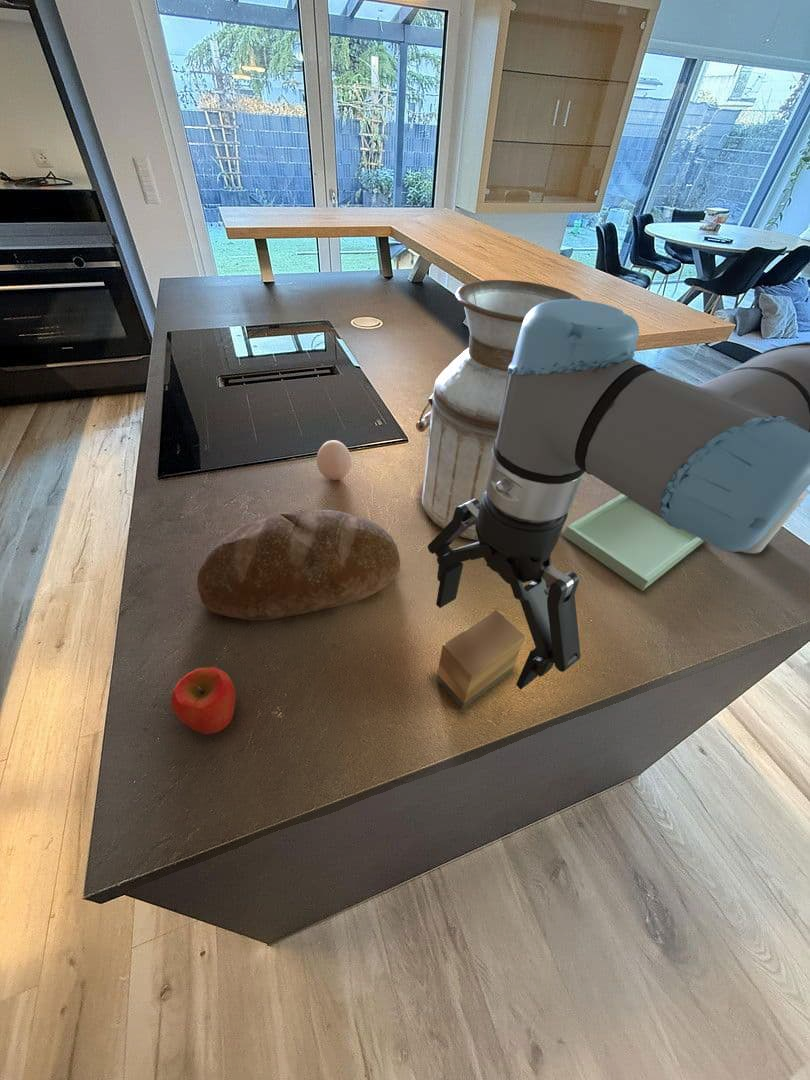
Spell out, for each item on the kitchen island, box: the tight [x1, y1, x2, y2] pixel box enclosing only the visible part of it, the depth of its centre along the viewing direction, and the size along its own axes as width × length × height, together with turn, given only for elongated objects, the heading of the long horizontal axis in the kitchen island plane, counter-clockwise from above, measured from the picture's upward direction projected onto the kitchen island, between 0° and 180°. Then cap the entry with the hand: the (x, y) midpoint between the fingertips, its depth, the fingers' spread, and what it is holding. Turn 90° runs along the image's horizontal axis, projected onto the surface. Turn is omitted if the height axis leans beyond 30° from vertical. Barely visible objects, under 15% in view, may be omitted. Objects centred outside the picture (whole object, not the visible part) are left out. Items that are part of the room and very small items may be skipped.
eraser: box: [435, 609, 526, 710], centre depth 57 cm, size 5×9×8 cm, turn 127°
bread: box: [196, 509, 401, 622], centre depth 67 cm, size 16×29×11 cm, turn 107°
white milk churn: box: [415, 279, 582, 542], centre depth 75 cm, size 25×22×36 cm
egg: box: [316, 439, 353, 481], centre depth 88 cm, size 7×7×8 cm
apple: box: [170, 666, 236, 735], centre depth 52 cm, size 6×6×8 cm
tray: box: [563, 493, 705, 592], centre depth 81 cm, size 16×20×2 cm
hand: (483, 638), depth 55 cm, fingers open, 13 cm apart
